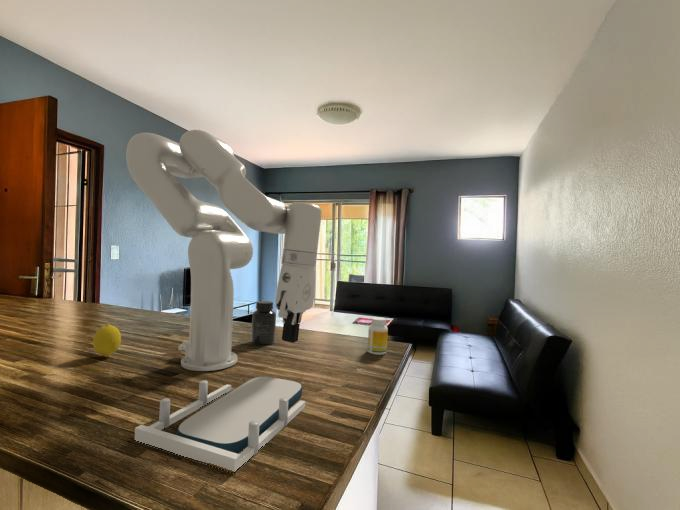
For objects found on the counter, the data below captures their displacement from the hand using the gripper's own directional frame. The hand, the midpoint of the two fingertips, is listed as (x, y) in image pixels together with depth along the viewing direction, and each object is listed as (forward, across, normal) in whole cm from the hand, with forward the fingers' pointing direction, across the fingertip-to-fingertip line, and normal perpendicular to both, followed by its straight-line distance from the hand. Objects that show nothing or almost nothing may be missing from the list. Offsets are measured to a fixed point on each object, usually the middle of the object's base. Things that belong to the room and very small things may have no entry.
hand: (289, 340), depth 74 cm
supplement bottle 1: (+9, +19, +18) cm, 28 cm away
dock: (+8, -22, -2) cm, 23 cm away
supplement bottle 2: (+6, +26, -14) cm, 31 cm away
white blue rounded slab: (+8, -18, -3) cm, 20 cm away
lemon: (+11, -10, +43) cm, 46 cm away
